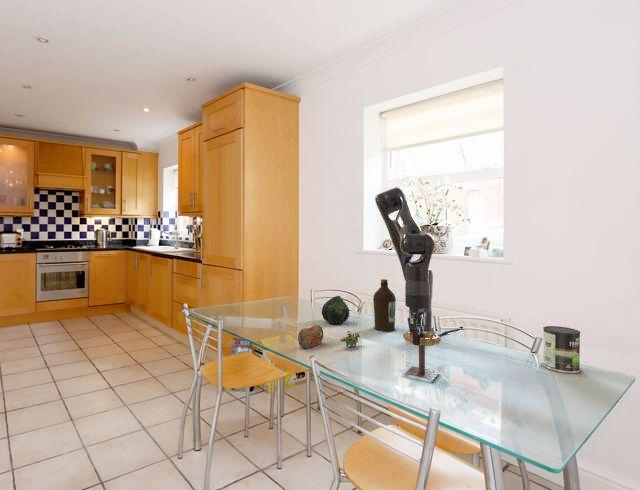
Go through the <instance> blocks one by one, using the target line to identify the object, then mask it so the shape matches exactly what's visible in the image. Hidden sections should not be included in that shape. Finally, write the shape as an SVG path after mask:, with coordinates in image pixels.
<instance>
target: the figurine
mask: <svg viewBox="0 0 640 490" xmlns="http://www.w3.org/2000/svg"><path fill="white" fill-rule="evenodd" d="M351 333H352V332H351V330H347V336H346V337H343V338H341V339H340V340H339V342H341V343H343V342H344V343H345V344H346V348H349V349H352V347H353V346H354V348H355V347H356V345H357V343H359V338H361V337H360V333H359V332H354V333H352V334H351Z"/></svg>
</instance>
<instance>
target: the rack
mask: <svg viewBox="0 0 640 490" xmlns="http://www.w3.org/2000/svg"><path fill="white" fill-rule="evenodd" d="M423 338H425V333H424V332H423ZM404 375H408V376H412V377H417V378H421V379H426V380H429V381H430V380H431V384H433V383H434V382H435V381H436V380H437V379H438V377H439V376H440V371H436V370H432V369H427V368H426V345H418V367H417V366H411V367H410V368H409V369H408V370H407V371H405V372H404Z"/></svg>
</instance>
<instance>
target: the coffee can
mask: <svg viewBox="0 0 640 490" xmlns="http://www.w3.org/2000/svg"><path fill="white" fill-rule="evenodd" d="M542 330H543V367H544V368H546V369H548V370H551V371H554V372H559V373H565V374H578V373H580V372H581V370H580V367H581V366H580V361H581V360H580V357H581V351H580V350H581V345H580V344H581V331H580V330H578V329H576V328H571V327H566V326H558V325H557V326H556V325H546V326H543V329H542Z"/></svg>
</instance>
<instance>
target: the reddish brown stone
mask: <svg viewBox="0 0 640 490" xmlns="http://www.w3.org/2000/svg"><path fill="white" fill-rule="evenodd" d="M323 339H324V330H323V328H322V327H321V325H315V324H313V325H310V326H307V327H303V328H301V329H300V330H299V332H298V334H297V341H298V342H297V343H298V345H299V346H300V347H301V348H304V349H310V348H312V347H316V346H318V345H321V343H322V342H323Z"/></svg>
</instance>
